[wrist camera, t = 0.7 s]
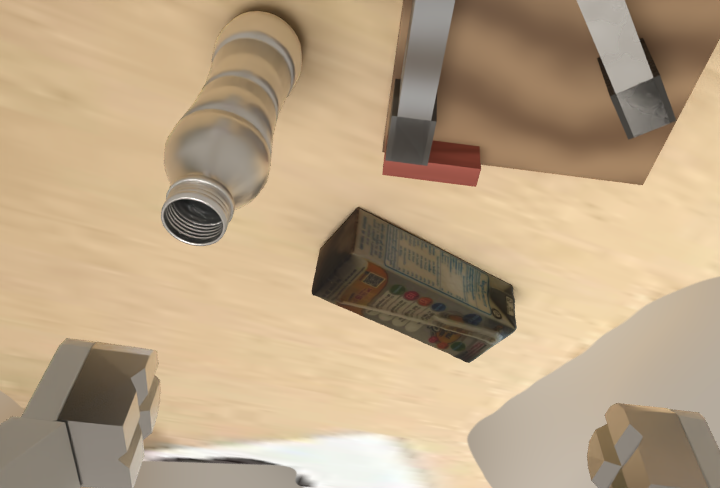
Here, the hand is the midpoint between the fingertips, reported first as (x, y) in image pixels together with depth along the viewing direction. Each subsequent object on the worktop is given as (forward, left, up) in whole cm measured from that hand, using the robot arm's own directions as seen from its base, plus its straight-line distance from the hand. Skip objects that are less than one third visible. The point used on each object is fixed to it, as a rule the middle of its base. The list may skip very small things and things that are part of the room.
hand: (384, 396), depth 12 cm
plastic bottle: (+15, -10, -39) cm, 43 cm away
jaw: (+7, +13, -37) cm, 40 cm away
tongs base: (+10, +11, -38) cm, 41 cm away
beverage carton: (+37, +5, -39) cm, 54 cm away
